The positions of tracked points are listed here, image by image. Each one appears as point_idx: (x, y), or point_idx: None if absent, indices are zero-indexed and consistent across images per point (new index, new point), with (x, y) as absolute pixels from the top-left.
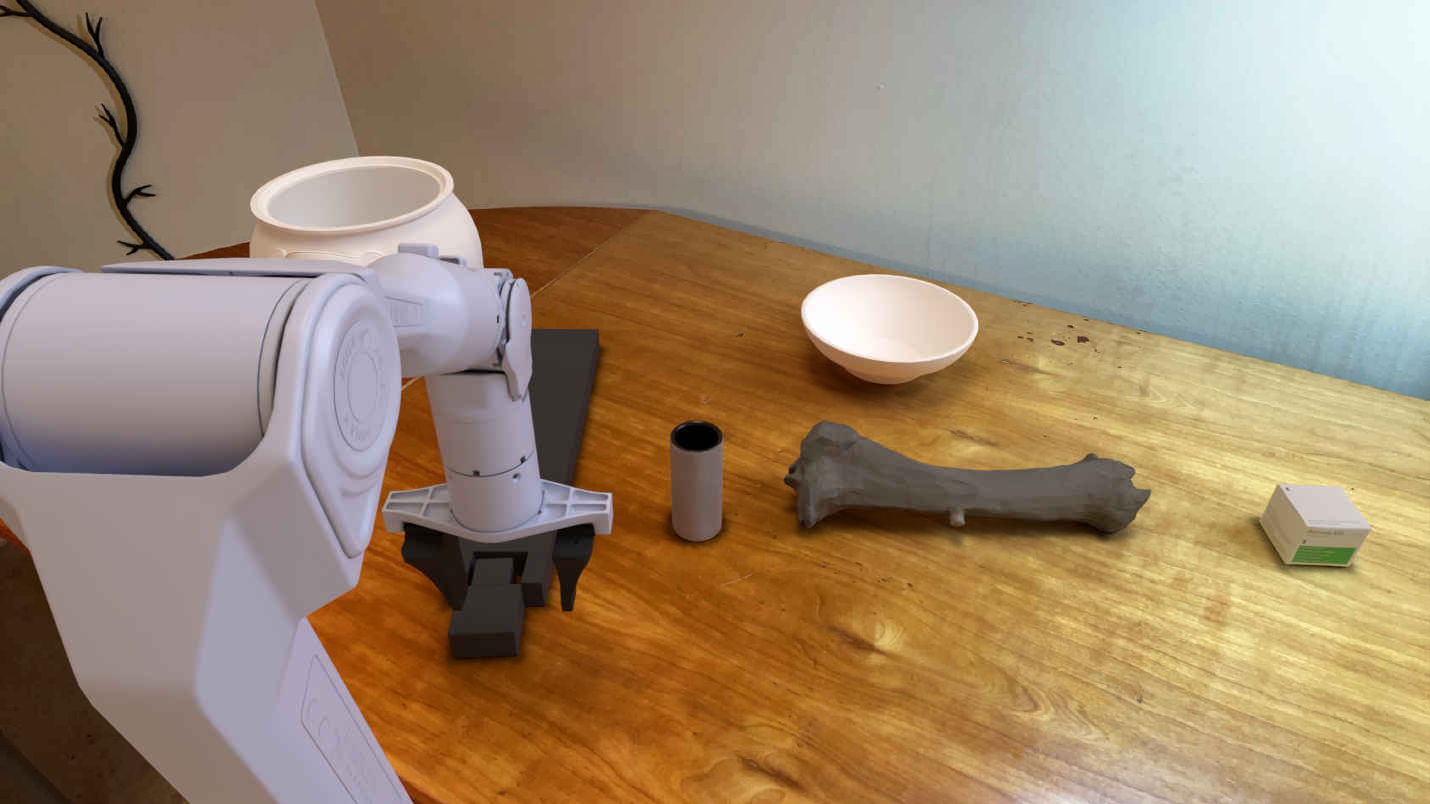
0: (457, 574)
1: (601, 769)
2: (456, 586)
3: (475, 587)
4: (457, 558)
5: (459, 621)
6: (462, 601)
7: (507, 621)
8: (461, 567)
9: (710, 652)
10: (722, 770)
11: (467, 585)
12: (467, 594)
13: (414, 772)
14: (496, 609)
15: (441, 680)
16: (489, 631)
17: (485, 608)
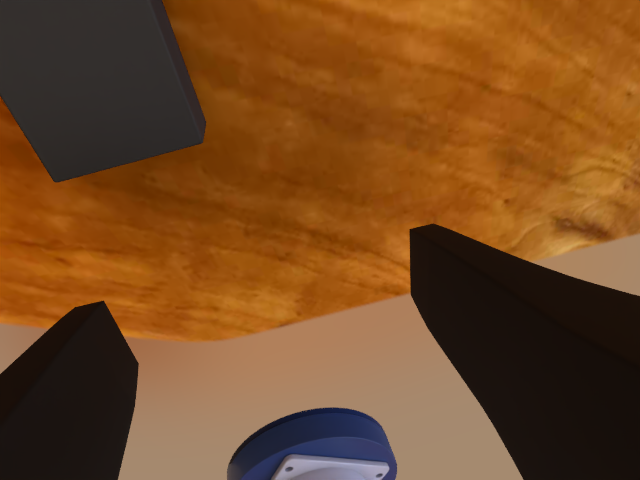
0: (80, 436)
1: (393, 273)
2: (107, 440)
3: (5, 5)
4: (38, 460)
5: (52, 140)
6: (126, 362)
7: (173, 117)
8: (62, 389)
9: (548, 46)
10: (532, 239)
11: (98, 313)
12: (3, 42)
13: (158, 336)
14: (123, 83)
15: (91, 204)
16: (146, 154)
17: (91, 85)
